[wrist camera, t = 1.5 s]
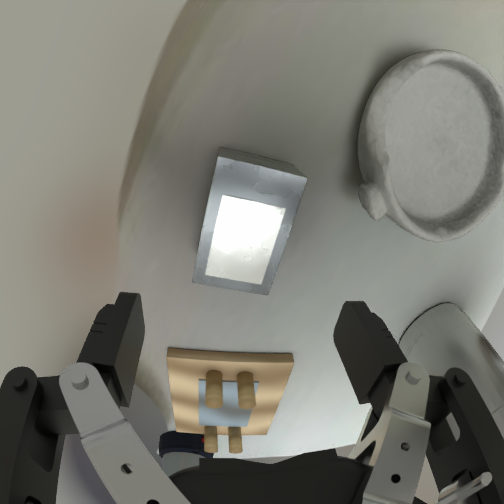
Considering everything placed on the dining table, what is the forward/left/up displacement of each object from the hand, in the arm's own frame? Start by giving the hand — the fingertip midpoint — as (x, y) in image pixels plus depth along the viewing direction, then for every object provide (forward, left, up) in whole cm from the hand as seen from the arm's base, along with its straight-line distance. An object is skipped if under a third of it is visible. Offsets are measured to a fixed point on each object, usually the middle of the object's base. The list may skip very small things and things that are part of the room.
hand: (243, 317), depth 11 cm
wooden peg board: (-1, +22, -11) cm, 24 cm away
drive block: (0, 0, -11) cm, 11 cm away
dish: (-14, -8, -11) cm, 20 cm away
